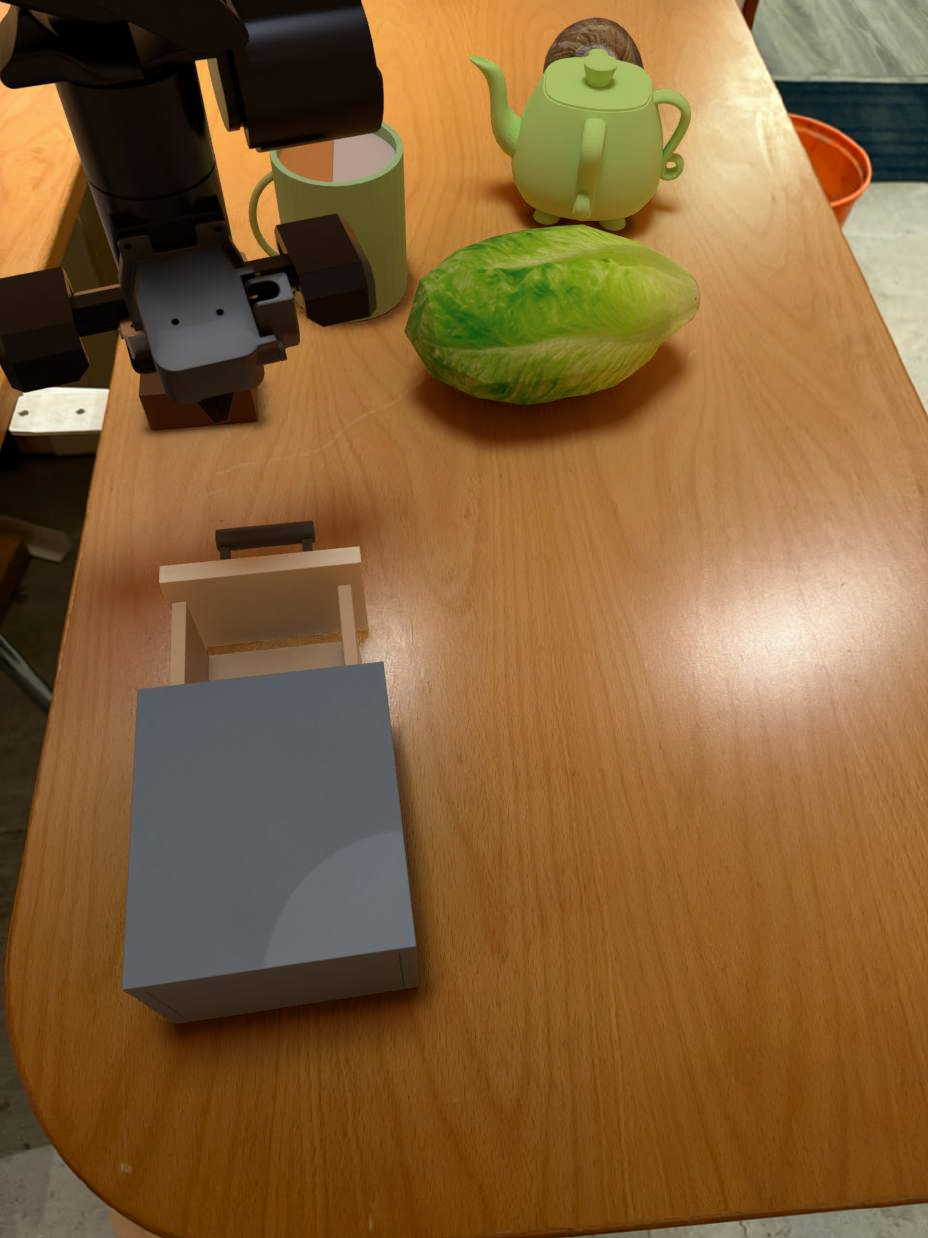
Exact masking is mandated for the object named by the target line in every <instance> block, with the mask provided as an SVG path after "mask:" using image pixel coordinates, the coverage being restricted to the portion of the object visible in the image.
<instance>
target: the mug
mask: <svg viewBox="0 0 928 1238" xmlns="http://www.w3.org/2000/svg"><path fill="white" fill-rule="evenodd" d="M268 153H269V154H268V155H269V160H270V166H271V171H269V172H268V173H266V174H265V175H263V176H262V178H260V180H259V181H258V182H257V183H256V185H255V186H254V189H253V190H252V193H251V195H250V199H249V203H248V221H249V225H250V229H251V233H252V234H253V237H254V239H255V240H256V242H257V244H258V245H259V247H260V248H261V249H262V251H263V252H264V253H265V254H266V255H267V256H268V257H271V256H276V255H280V254H279V252H278V251H276V250H275V249H274V248H272V247H271V246H270V245H269V243H268V242H267V241H266V238H265V237H264V236H263V235H262V233H261V230H260V227H259V223H258V217H257V216H258V215H257V214H258V213H257V210H258V203H259V200H260V197H261V195H262V194H263V192H264V190H265V188H267V186H269V185H270V184H271V183H272V182H273V185H274V192H275V199H276V205H277V211H278V217H279V224H284V223H289V222H294V221H299V220H304V219H310V218H315V217H320V216H325V215H330V214H335V213H337V214H338V215H340V216H341V217H342V218H343V219H345V220H346V221H347V222H348V223H349V224H350V226H351V228H352V230H353V232H354V234H355V236H356V238H357V240H358V242H359V244H360V246H361V248H362V249H363V251H364V253H365V255H366V257H367V259H368V261H369V263H370V265H371V268H372V272H373V276H374V280H375V289H376V305H377V308H376V310H375V311H374V312H373V314H372V315H371V316H370V317H367V318H363V319H358V320H353V321H349V322H348V323H352V322H362V321H366V320H371V319H374V318H377V317H380V316H383V315H384V314H386V313H389V311H391V310H392V309H394V308H395V307H396V306H398V305H399V303H400V302H401V301H402V300H403V298H404V297H405V295H406V292H407V289H408V261H407V260H408V259H407V257H408V256H407V227H406V224H407V223H406V196H405V193H406V191H405V161H404V144H403V140H402V138H401V136H400V135H399V133H398V132H397V131H396V130H395V129H394V128H393V127H392V126H390V125H389V124H387V123H386V122H384V121H383V122H382V125H381V129H380V130H379V131H378V132H377V133H371V134H365V135H360V136H354V137H348V138H342V139H337V140H331V141H325V142H319V143H314V144H308V145H302V146H297V147H291V148H285V149H279V150H274V151H268ZM297 293H298V295H297V296H296V297H294V301H295V303H296V304H298V306H300V308H301V309H303V310H304V306H303V300H302V295H301V293H300V291H298V292H297Z"/></svg>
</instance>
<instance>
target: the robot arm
mask: <svg viewBox="0 0 928 1238" xmlns="http://www.w3.org/2000/svg"><path fill="white" fill-rule="evenodd" d="M0 3H2V4H6V5H9V8H8V10H7V13H6V14H5V15H4V16H3V17H2V19H1V21H0V82H1V83H2V85H3V86H5V87H6V88H7V89H10V90H17V89H18V90H19V89H26V88H32V87H39V86H46V85H53V84H54V86H55V89H56V92H57V95H58V97H59V101H60V103H61V107H62V110H63V112H64V115H65V118H66V121H67V123H68V127H69V129H70V133H71V136H72V138H73V142H74V145H75V148H76V150H77V154H78V156H79V159H80V162H81V165H82V168H83V171H84V174H85V177H86V180H87V182H88V186H89V189H90V191H91V195H92V198H93V202H94V204H95V206H96V210H97V212H98V216H99V218H100V222H101V225H102V227H103V230H104V233H105V236H106V239H107V242H108V245H109V248H110V251H111V254H112V257H113V259H114V263H115V265H116V269H117V273H118V274H117V280H118V283H116V284H110V285H106V286H101V287H95V288H91V289H86V290H80V291H77V292H74V290H73V287H72V285H71V284H72V283H71V281H70V279H69V277H68V274H67V271H66V269H64V267H63V266H56V267H51V268H46V269H40V270H36V271H35V270H34V271H30V272H26V273H20V274H15V275H10V276H9V275H8V276H4V277H0V368H1V370H2V372H3V374H4V375H5V377H6V379H7V382H8V383H9V385H10V387H11V389H13V390H16V391H17V392H19V391H20V392H21V393H24V394H28V393H31V392H37V391H41V390H45V389H49V388H55V387H59V386H63V385H68V384H72V383H77V382H80V380H81V379H82V378H83V377H84V374H85V373H86V372H87V371H88V370H89V367H90V365H91V363H90V359H89V357H88V353H87V352H86V349H85V346H84V343H83V340H82V338H84V337H89V336H94V335H98V334H103V333H107V332H114V331H118V334H119V336H120V339H121V340H122V341H123V340H124V342H125V346H126V349H127V353H128V357H129V361H130V365H131V368H132V370H133V371H134V372H135V373H137V374H138V375H139V376H140V375H149V374H154V373H158V375H159V378H160V381H161V384H162V387H163V389H164V392H165V394H166V395H167V397H168V398H169V399H170V400H172V401H173V402H175V403H178V404H192V403H197V404H198V405H199V406H200V408H201V409H202V410H203V411H204V412H205V413H206V415H207V416H208V417H209V418H210V419H211V420H212V421H213V423H214V425H219V424H218V423H221V422H226V421H228V420H229V416H230V411H231V406H232V402H233V397H234V392H235V391H239V392H244V391H248V390H251V389H254V388H256V387H257V388H258V387H259V386H260V385H261V384H262V382H263V380H264V378H265V373H266V372H265V366H267V365H271V364H275V363H279V362H284V361H288V355H287V351H286V350H287V349H288V348H292V347H296V346H300V344H301V332H300V324H299V317H298V313H297V307H296V300H295V299H294V297H296V296H297V295H298V293H297V292H298V291H300V293H301V295H302V300H303V306H304V309H303V312H304V314H305V316H306V319H308V320H310V321H312V322H313V323H315V324H317V325H319V326H321V327H322V328H326V327H331V326H335V325H340V324H345V323H350V322H349V321H353V320H358V319H363V318H367V317H370V316H371V315H372V314H373V312H374V311H375V310H376V308H377V305H376V289H375V280H374V276H373V272H372V268H371V265H370V263H369V261H368V259H367V257H366V255H365V253H364V251H363V249H362V248H361V246H360V244H359V242H358V240H357V238H356V236H355V234H354V232H353V230H352V228H351V226H350V224H349V223H348V222H347V221H346V220H345V219H343V218H342V217H341V216H340V215H338V214H337V213H335V214H330V215H325V216H320V217H315V218H310V219H304V220H299V221H294V222H289V223H284V224H280V223H279V224H276V225H275V227H274V230H273V233H274V239H275V244H276V249H277V253H278V254H280V255H276V256H271V257H270V256H266V257H262V258H256V259H251V260H248V257H247V256H246V253H245V252H244V251H240V250H239V248H238V247H237V246H236V243H235V242H234V240H233V235H232V230H231V225H230V220H229V215H228V211H227V207H226V202H225V201H226V200H225V197H224V196H225V195H224V191H223V186H222V182H221V177H220V171H219V168H218V167H219V166H218V162H217V158H216V154H215V150H214V144H213V141H212V134H211V130H210V125H209V121H208V117H207V110H206V107H205V102H204V96H203V92H202V87H201V82H200V77H199V73H198V69H197V68H198V67H197V63H196V62H199V61H205V60H206V63H207V67H208V72H209V77H210V81H211V85H212V90H213V93H214V97H215V101H216V104H217V108H218V111H219V115H220V118H221V120H222V123H223V126H224V128H225V130H226V132H228V133H231V132H238V131H241V129H242V128H243V129H242V130H243V133H244V138H245V140H246V145H247V147H248V149H249V150H253V149H255V151H256V153H259V154H263V153H267V152H268V153H269V151H274V150H279V149H285V148H291V147H297V146H302V145H308V144H314V143H319V142H325V141H331V140H337V139H342V138H348V137H354V136H360V135H365V134H371V133H377V132H378V131H379V130H380V129H381V125H382V122H384V121H383V120H384V114H385V113H384V112H385V90H384V89H385V88H384V78H383V74H382V72H381V69H380V68H379V66H378V64H377V58H376V53H375V52H376V51H375V47H374V42H373V37H372V32H371V27H370V25H369V20H368V17H367V14H366V11H365V7H364V5H363V1H362V0H0Z"/></svg>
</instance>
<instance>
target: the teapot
mask: <svg viewBox="0 0 928 1238" xmlns="http://www.w3.org/2000/svg"><path fill="white" fill-rule="evenodd" d="M468 60H469V61H470V62H471V63H472V64H473V65H474V66H475V67H476V68H477V69H478V70H479V71H480V72H481V73H482V75H483V76H484V78H485V80H486V83H487V87H488V91H489V93H488V94H489V105H490V106H489V107H490V110H489V111H490V126H491V130H492V134H493V136H494V139H495V142H496V144H497V145H498V146H499V148H500V149H501V151H502V152H503V153H504V154H505V155H507V156H508V157H509V158H511V161H510V163H511V166H510V167H511V174H512V178H513V183H514V184H515V187H516V188H517V190H518V192H519V193H520V195H521V197H522V198H523V200H524V202H526V204H527V205H528V206H530V207H531V208H533V209H535V210H534V213H533V214H532V215H533V216H532V217H533V220H534V221H536V222H537V223H538V224H541V225H546V226H549V225H554V224H557V223H558V222H559V221H560V220H561V218H564V219H570V220H575V221H580V222H584V221H585V222H586V221H589V222H591V221H592V222H593V221H595V222H597V221H598V224H599V226H600V227H602V228H603V229H605V230H608V231H612V232H613V231H620V230H622V229H624V228H625V227H626V225H627V222H626V218H628V217H631V216H634V215H635V214H637V213H638V212H640V210H641V209H643V208H644V207H645V206H646V205H647V204H648V203H649V202H650V201H651V200H652V198H653V197H654V196H655V194H656V192H657V190H658V187H659V184H660V180H662V181H666V182H669V181H674V180H676V179H678V178H679V177H680V176H681V175H682V173H683V172H684V170H685V169H684V168H685V160H684V157H683V156H682V155H681V154H679V153H676V150H677V149H678V147H679V146H680V144H681V142H682V141H683V139H684V138H685V135H686V133H687V131H688V130H689V127H690V123H691V120H692V109H691V106H690V103H689V101H688V99H687V98H686V97H685V96H684V95H683V94H682V93H681V92H679V91H677V90H674V89H671V88H661V89H657V90H655V89H654V85H653V82H652V79H651V77H650V74H649V73H648V72H647V71H646V70H645V68H644V69H643V68H641V67H639V66H637V65H634V64H631V63H628V62H624V61H619V60H616V59H615V58H614V57H612V56H610V55H608V53H607V52H606V51H605V50H603V49H592V50H590V51H589V52H588V54H587V57H573V58H564V59H560V60H557V61H555V62H553V63H552V64H550V65H549V66H548V67H547V69H546V70H545V72H544V73H543V72H542V74H541V76H540V78H539V80H538V82H537V84H536V85H535V87H534V89H533V91H532V92H531V95H530V96H529V98H528V100H527V102H526V104H525V107H524V109H523V112H522V114H521V117H520V116H519V115H518V114H516V113H515V112H514V111H513V110H512V109H511V106H510V103H509V99H508V88H507V79H506V76H505V74H504V72H503V69H502V68H501V67H500V66H499V65H498V64H497V63H496V62H494V61H493V60H490V59H488V58H485V57H483V56H479V55H469V56H468ZM662 104H663V105H671V106H673V107H675V108H677V109H678V110H679V112H680V118H679V121H678V124H677V126H676V127H675V129H674V131H673V133H672V134H671V137H670V138H669V139H668V141H667V143H665V146H664V133H663V132H664V131H663V125H662V118H661V114H660V113H661V112H660V109H659V105H662ZM668 163H673V164H675V166H673V167H668V166H667V165H668Z"/></svg>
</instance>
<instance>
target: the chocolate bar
mask: <svg viewBox="0 0 928 1238" xmlns="http://www.w3.org/2000/svg"><path fill="white" fill-rule="evenodd" d="M138 398H139V400H140V404H141V407H142V409H143V411H144V414H145V416H146V419H147V423H148V425H149V428H150V430H152V431H153V430H165V429H178V428H188V427H200V426H201V427H202V426H213V425H215V424H214V423H213V421H212V420H211V419H210V418H209V417H208V416H207V415H206V413H205V412H204V411H203V410H202V409H201V408H200V406H199V405H198V404H197V403H192V404H178V403H175V402H173V401H172V400H170V399H169V398H168V397H167V395H166V394H165V392H164V389H163V387H162V384H161V381H160V378H159V375H158V373H154V374H149V375H140V374H139V386H138ZM258 411H259V410H258V386H257V387H256V388H254V389H251V390H248V391H244V392H239V391H235V392H234V397H233V402H232V406H231V411H230V416H229V420H228V421H226V422H221V423H218V424H217V425H224V424H236V423H246V422H247V423H248V422H258V421H259V416H258V415H259V413H258Z"/></svg>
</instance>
